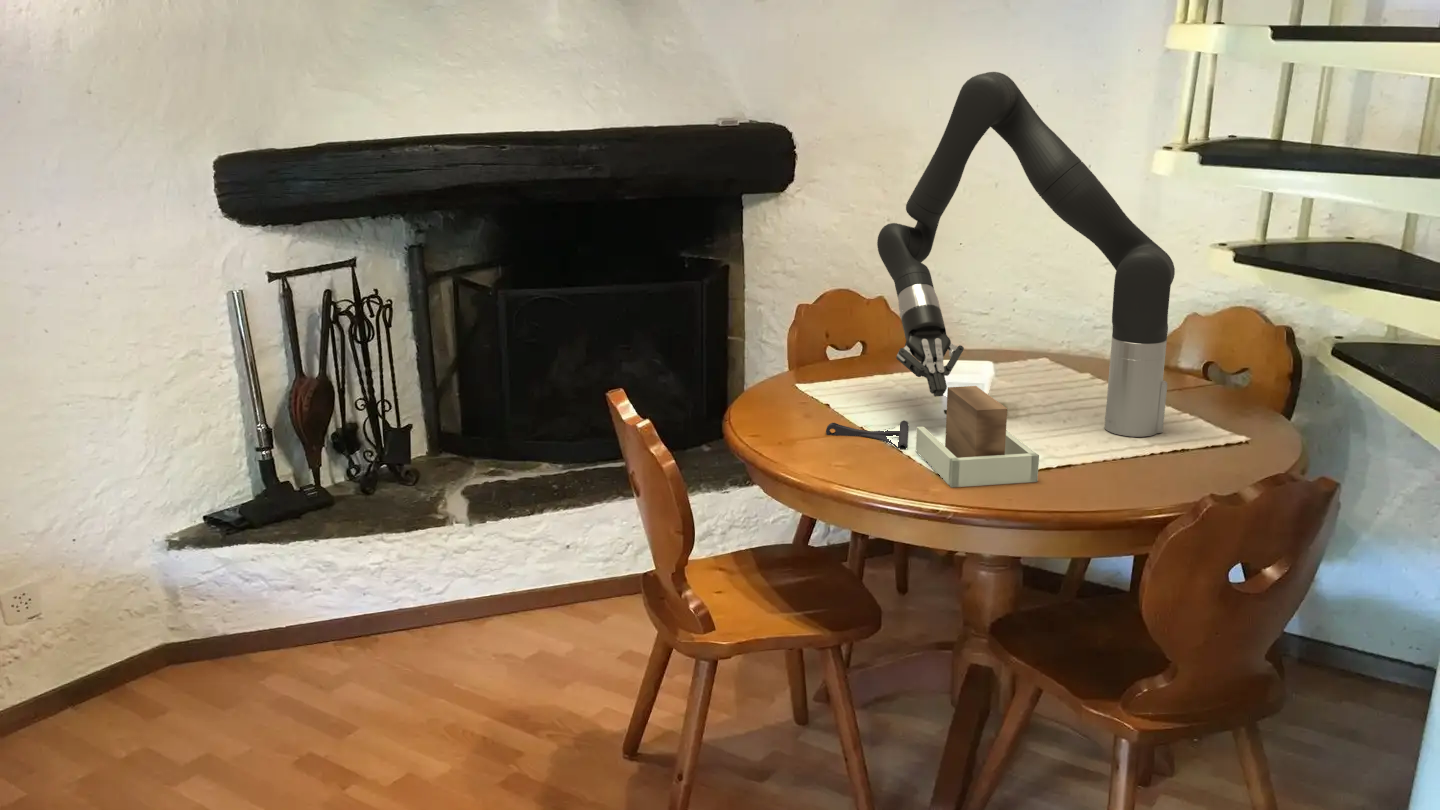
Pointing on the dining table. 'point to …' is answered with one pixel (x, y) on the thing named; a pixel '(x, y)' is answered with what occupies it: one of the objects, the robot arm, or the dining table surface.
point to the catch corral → (979, 463)
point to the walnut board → (974, 423)
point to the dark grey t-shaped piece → (872, 433)
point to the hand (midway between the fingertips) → (939, 394)
